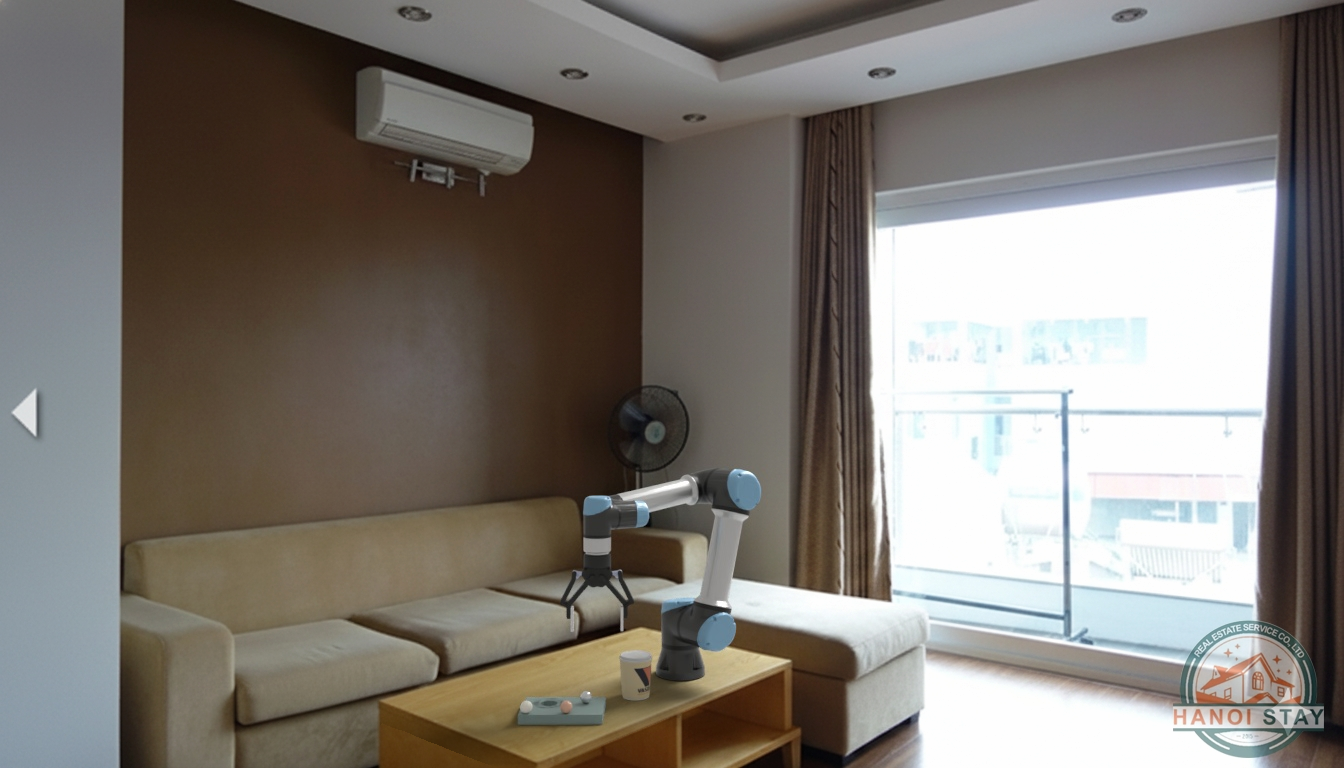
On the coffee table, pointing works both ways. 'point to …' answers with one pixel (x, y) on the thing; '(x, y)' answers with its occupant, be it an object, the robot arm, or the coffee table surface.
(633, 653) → the coffee cup
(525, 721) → the board
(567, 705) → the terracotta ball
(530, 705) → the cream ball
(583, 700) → the steel ball
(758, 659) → the coffee table surface
